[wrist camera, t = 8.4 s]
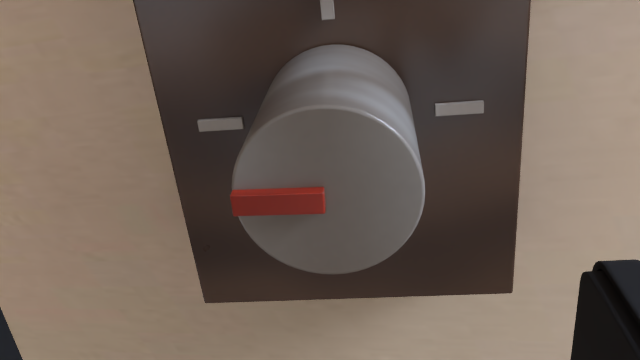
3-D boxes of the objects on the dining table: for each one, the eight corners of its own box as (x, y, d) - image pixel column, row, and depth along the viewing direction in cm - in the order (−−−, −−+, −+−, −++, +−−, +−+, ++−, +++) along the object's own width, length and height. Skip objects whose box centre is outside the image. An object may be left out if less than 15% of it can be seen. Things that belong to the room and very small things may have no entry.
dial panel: (496, 245, 23) (514, 296, 20) (222, 256, 24) (203, 306, 21) (514, -168, 17) (543, -176, 14) (141, -125, 18) (99, -124, 15)
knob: (410, 39, 16) (427, 105, 12) (411, 178, 18) (426, 282, 14) (256, 47, 17) (213, 115, 12) (273, 183, 19) (242, 285, 14)
